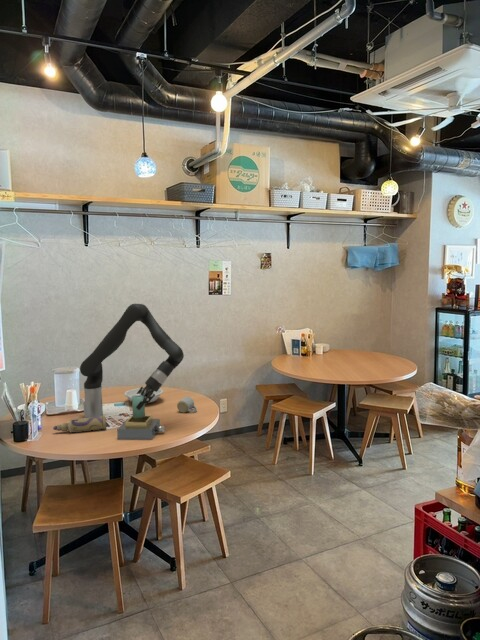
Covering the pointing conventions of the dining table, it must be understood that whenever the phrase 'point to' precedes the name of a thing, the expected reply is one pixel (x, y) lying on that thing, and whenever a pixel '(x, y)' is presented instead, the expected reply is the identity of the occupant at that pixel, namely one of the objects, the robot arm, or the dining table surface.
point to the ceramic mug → (186, 405)
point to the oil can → (135, 402)
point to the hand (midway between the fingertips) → (135, 407)
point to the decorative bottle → (83, 424)
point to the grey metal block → (140, 428)
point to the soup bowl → (134, 391)
